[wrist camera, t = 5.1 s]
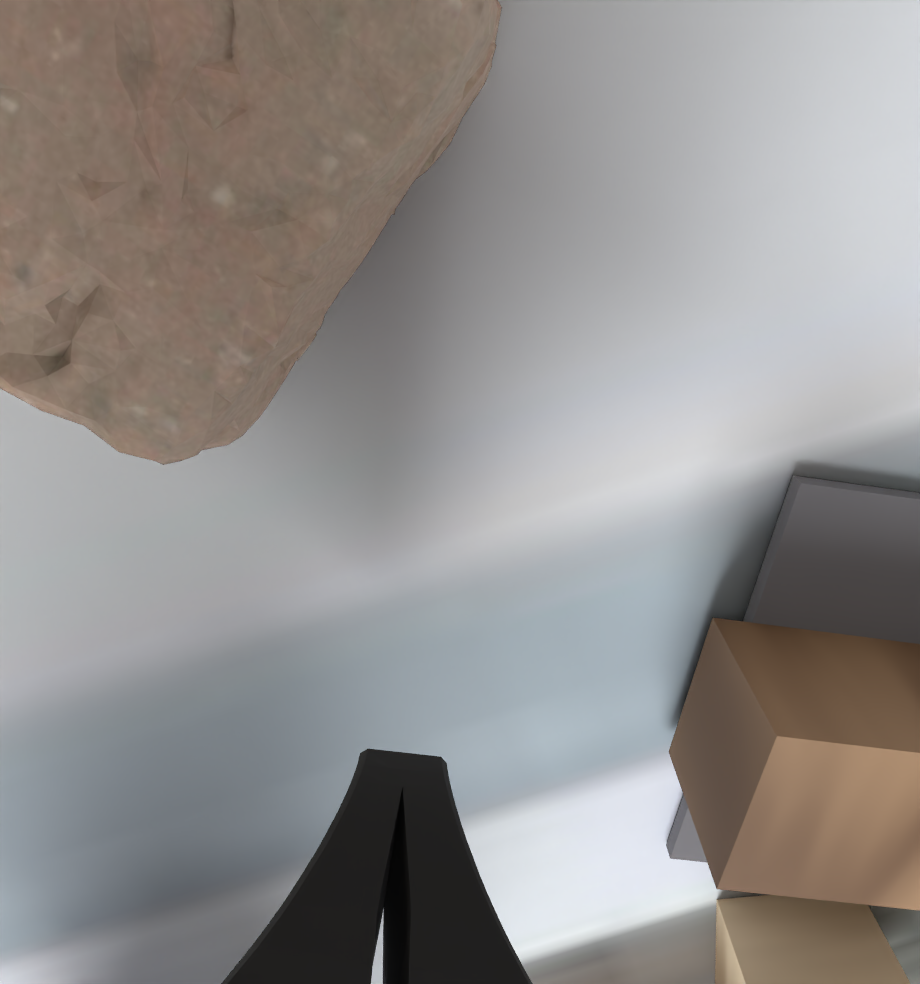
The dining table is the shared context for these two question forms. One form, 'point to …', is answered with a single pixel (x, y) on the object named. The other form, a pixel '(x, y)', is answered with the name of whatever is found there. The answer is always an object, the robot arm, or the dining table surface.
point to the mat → (833, 578)
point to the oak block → (801, 943)
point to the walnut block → (805, 763)
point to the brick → (205, 192)
